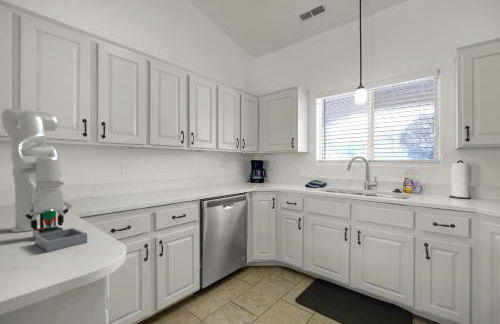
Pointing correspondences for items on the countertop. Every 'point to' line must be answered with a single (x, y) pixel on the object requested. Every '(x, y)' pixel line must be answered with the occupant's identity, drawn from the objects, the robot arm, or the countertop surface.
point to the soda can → (48, 221)
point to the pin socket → (37, 232)
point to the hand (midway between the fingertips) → (47, 227)
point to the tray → (60, 239)
